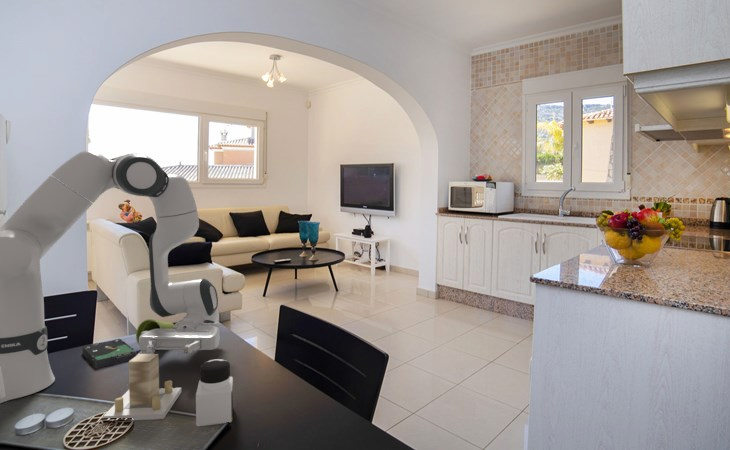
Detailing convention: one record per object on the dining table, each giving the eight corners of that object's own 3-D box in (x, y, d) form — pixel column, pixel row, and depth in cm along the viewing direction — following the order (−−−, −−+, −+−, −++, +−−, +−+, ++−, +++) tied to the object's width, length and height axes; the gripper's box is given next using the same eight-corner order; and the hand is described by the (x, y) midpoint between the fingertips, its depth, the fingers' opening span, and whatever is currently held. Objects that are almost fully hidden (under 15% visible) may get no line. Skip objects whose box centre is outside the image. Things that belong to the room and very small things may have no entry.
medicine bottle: (232, 422, 87) (232, 367, 86) (196, 427, 85) (195, 371, 84) (233, 406, 94) (232, 354, 93) (199, 410, 92) (198, 357, 91)
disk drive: (81, 355, 123) (96, 370, 113) (81, 346, 123) (95, 360, 113) (120, 346, 131) (137, 359, 121) (120, 338, 130) (137, 350, 120)
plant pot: (173, 351, 134) (154, 355, 125) (151, 338, 136) (131, 342, 128) (185, 324, 134) (166, 326, 126) (162, 312, 136) (143, 314, 128)
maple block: (129, 405, 91) (128, 361, 90) (139, 395, 96) (138, 353, 95) (150, 405, 91) (149, 361, 91) (159, 396, 96) (158, 353, 95)
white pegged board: (103, 421, 87) (102, 404, 87) (128, 394, 99) (128, 379, 98) (163, 418, 88) (163, 402, 88) (181, 392, 100) (181, 377, 100)
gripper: (152, 321, 118) (126, 337, 104) (224, 321, 119) (207, 338, 105) (152, 342, 119) (126, 362, 105) (224, 343, 119) (208, 362, 105)
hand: (167, 350), depth 105 cm, fingers open, 8 cm apart
